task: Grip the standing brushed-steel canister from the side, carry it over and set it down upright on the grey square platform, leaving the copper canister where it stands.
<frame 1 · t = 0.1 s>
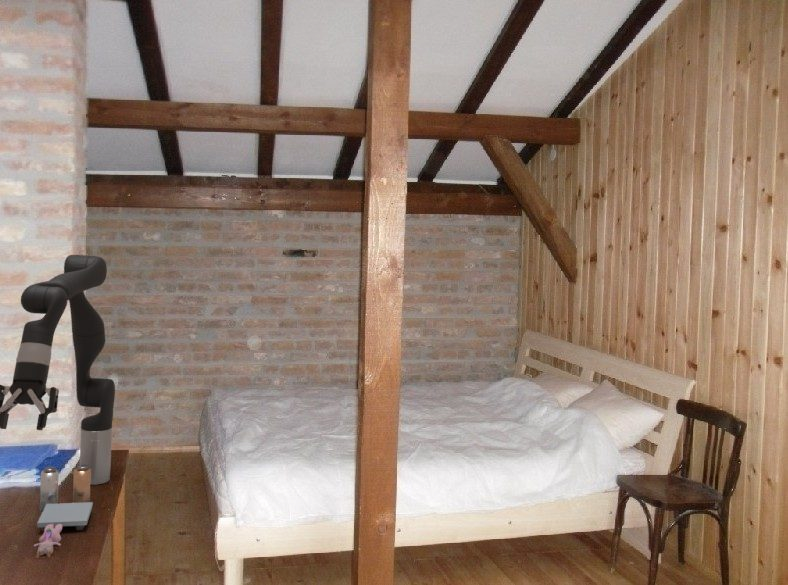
hand: (21, 429, 174), 31 cm above the table, tool tilted 20°, fingers open, 8 cm apart
rabbit figure: (49, 547, 182), on the table
grey square platform: (65, 523, 197), on the table
copper canister: (81, 506, 210), on the table
steel canister: (48, 509, 206), on the table
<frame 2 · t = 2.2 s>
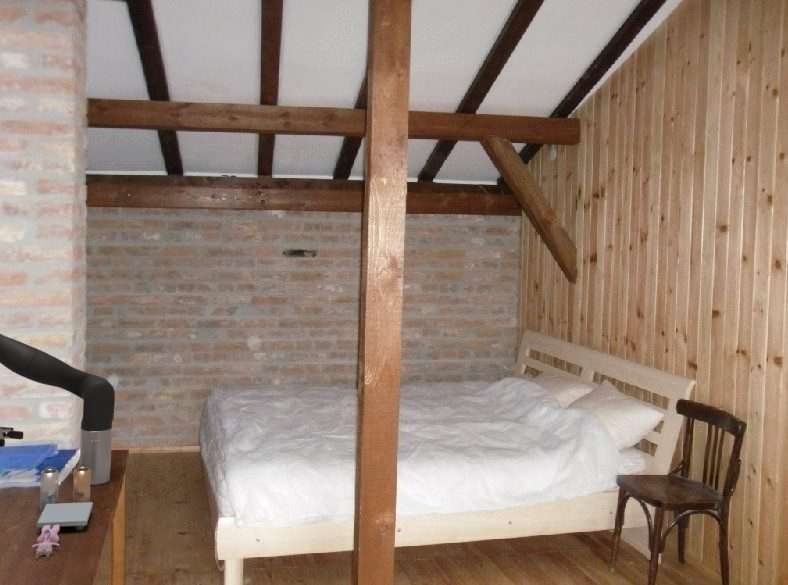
hand: (13, 439, 206), 19 cm above the table, tool horizontal, fingers open, 8 cm apart
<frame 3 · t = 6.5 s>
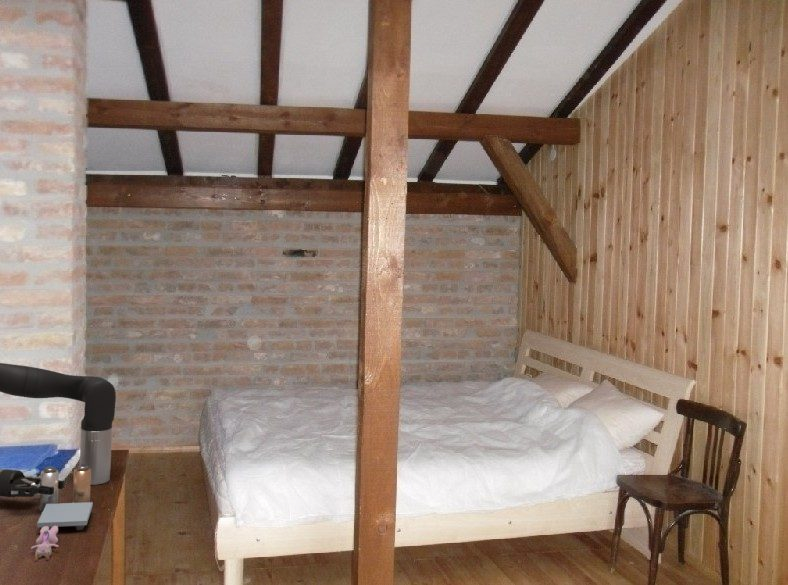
hand: (58, 487, 205), 7 cm above the table, tool horizontal, fingers closed on steel canister, 4 cm apart
steel canister: (48, 509, 206), on the table, touching gripper
when the fingers open (10 cm above the table, at t = 10.8 s): steel canister stays where it is, resting on grey square platform.
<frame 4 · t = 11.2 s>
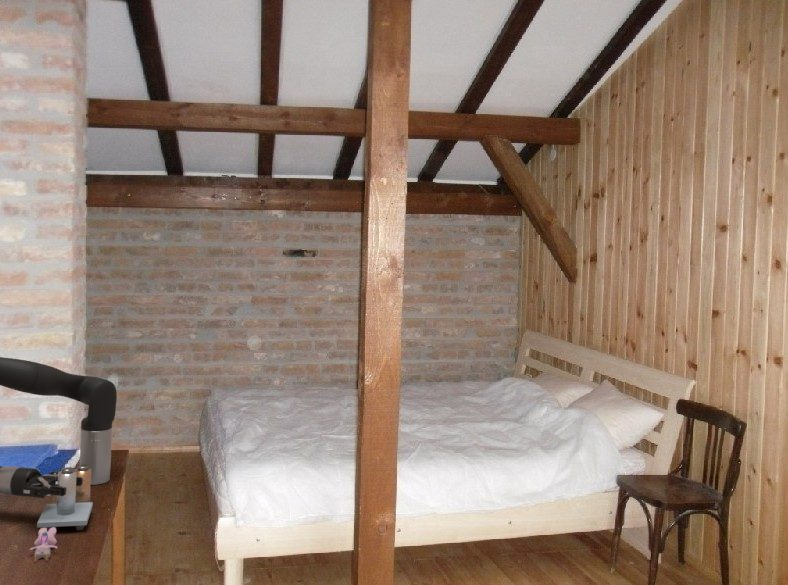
hand: (73, 486, 196), 11 cm above the table, tool horizontal, fingers open, 8 cm apart
steel canister: (65, 512, 197), point 3 cm above the table, touching grey square platform
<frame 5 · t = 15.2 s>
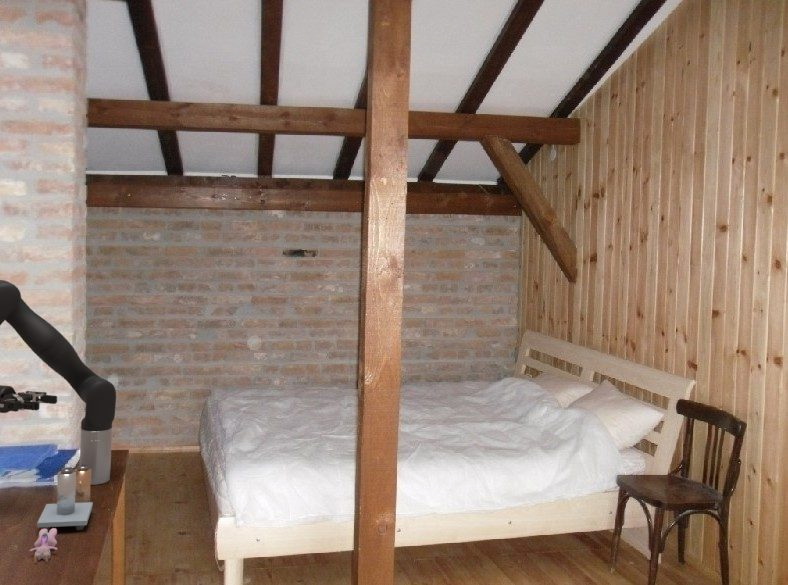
hand: (47, 403, 199), 32 cm above the table, tool horizontal, fingers open, 8 cm apart
at the end: steel canister inside the target area on the grey square platform (0.1 cm from its centre), point 3.2 cm above the grey square platform's base; steel canister tilted 1°; the gripper is holding nothing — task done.
